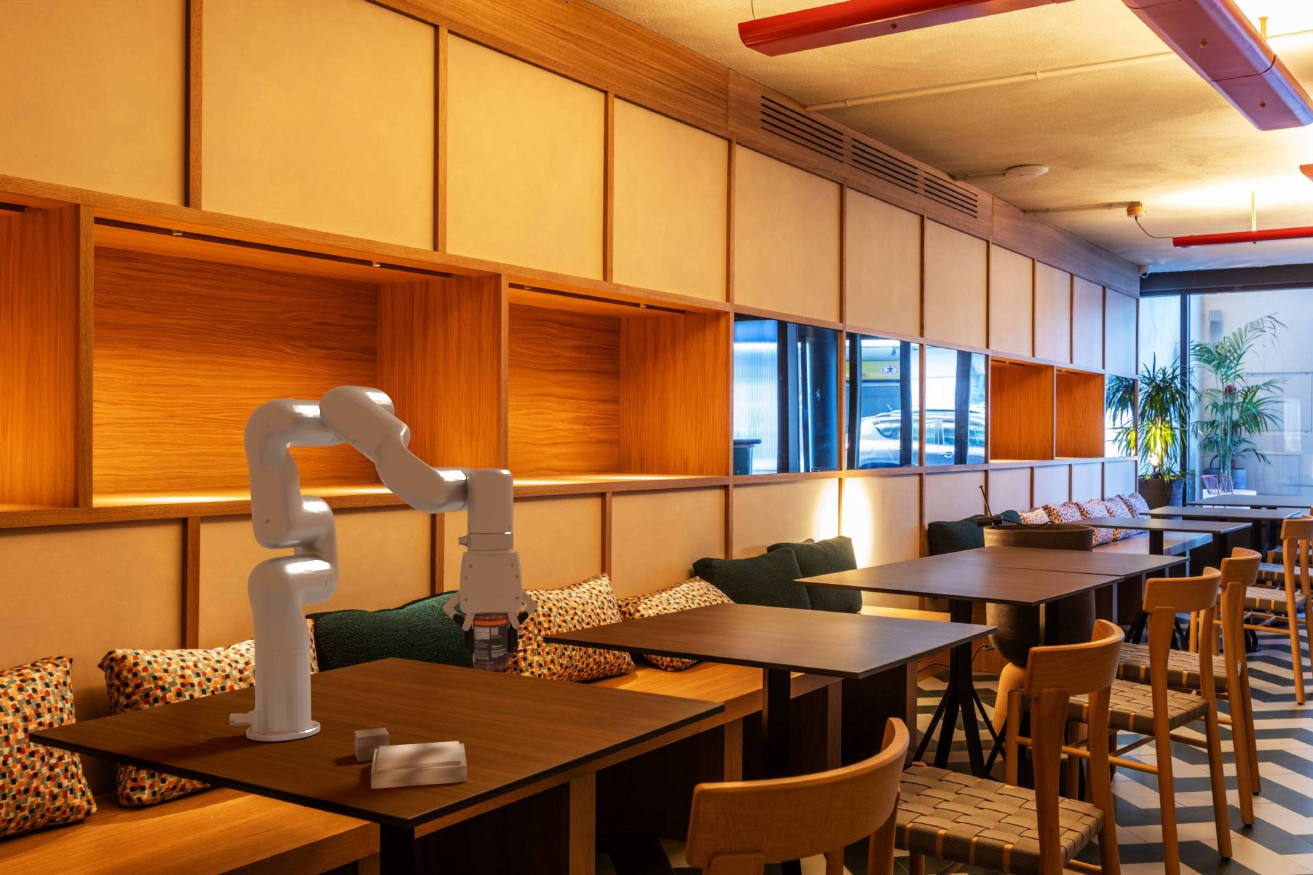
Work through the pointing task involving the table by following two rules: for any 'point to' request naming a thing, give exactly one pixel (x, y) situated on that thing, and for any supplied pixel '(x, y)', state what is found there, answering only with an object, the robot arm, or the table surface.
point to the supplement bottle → (491, 641)
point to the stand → (418, 764)
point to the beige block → (369, 742)
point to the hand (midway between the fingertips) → (490, 651)
